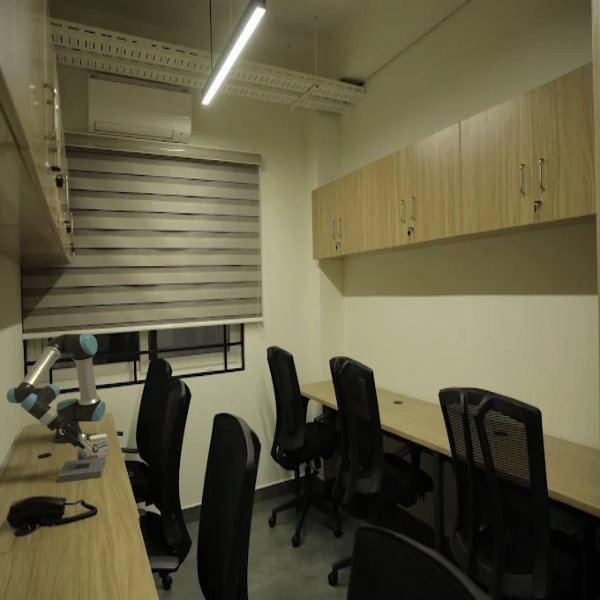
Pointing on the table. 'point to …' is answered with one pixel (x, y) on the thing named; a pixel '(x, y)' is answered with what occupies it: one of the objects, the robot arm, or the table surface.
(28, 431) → the table surface
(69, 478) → the hole block
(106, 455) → the ink box
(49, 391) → the robot arm
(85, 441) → the steel pin
